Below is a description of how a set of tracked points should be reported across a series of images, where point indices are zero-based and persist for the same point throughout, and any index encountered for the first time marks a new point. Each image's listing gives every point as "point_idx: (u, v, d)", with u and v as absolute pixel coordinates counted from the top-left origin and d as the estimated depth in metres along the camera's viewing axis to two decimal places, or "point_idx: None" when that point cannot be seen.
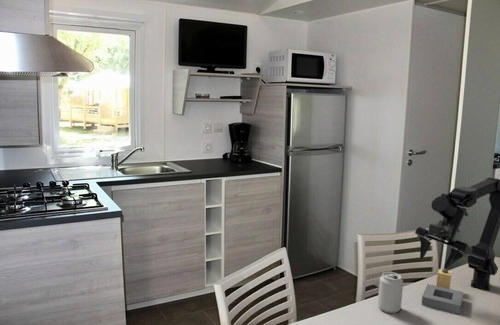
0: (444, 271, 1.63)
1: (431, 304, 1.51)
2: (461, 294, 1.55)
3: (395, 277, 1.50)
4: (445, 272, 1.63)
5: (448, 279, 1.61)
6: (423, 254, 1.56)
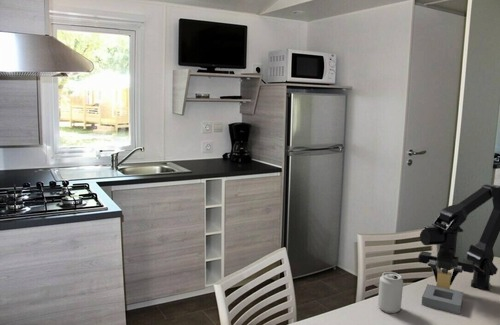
0: (444, 271, 1.63)
1: (431, 304, 1.51)
2: (461, 294, 1.55)
3: (395, 277, 1.50)
4: (445, 272, 1.63)
5: (448, 279, 1.61)
6: None
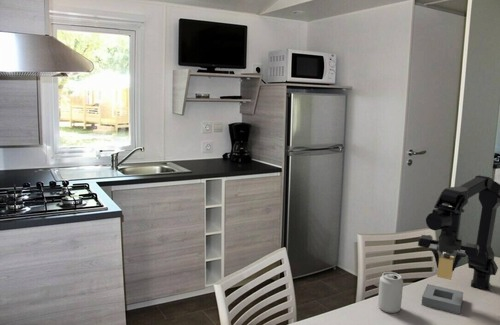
0: (446, 256, 1.52)
1: (431, 304, 1.51)
2: (461, 294, 1.55)
3: (395, 277, 1.50)
4: (447, 257, 1.51)
5: (450, 264, 1.50)
6: None
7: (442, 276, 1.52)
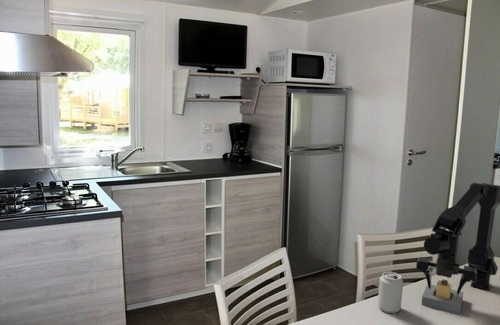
0: (444, 282, 1.53)
1: (431, 304, 1.51)
2: (461, 294, 1.55)
3: (395, 277, 1.50)
4: (445, 284, 1.53)
5: (448, 291, 1.51)
6: (430, 284, 1.56)
7: None
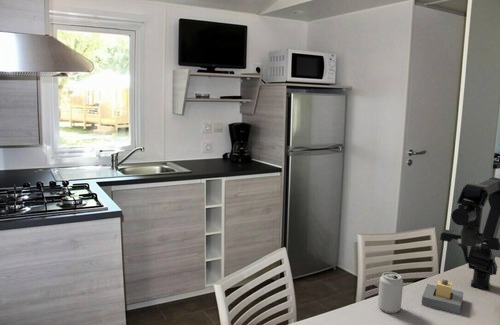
0: (444, 282, 1.53)
1: (431, 304, 1.51)
2: (461, 294, 1.55)
3: (395, 277, 1.50)
4: (445, 284, 1.53)
5: (448, 291, 1.51)
6: (467, 257, 1.57)
7: None
